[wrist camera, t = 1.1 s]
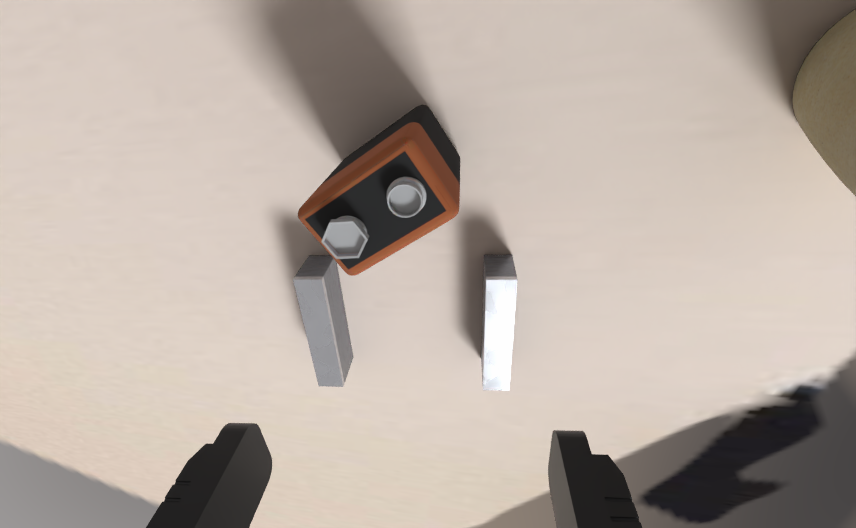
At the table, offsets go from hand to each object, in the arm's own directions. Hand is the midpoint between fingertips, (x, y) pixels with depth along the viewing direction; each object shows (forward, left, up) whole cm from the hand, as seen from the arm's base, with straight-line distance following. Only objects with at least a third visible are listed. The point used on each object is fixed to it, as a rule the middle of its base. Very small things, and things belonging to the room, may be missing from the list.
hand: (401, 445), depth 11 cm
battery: (-2, -2, -19) cm, 20 cm away
